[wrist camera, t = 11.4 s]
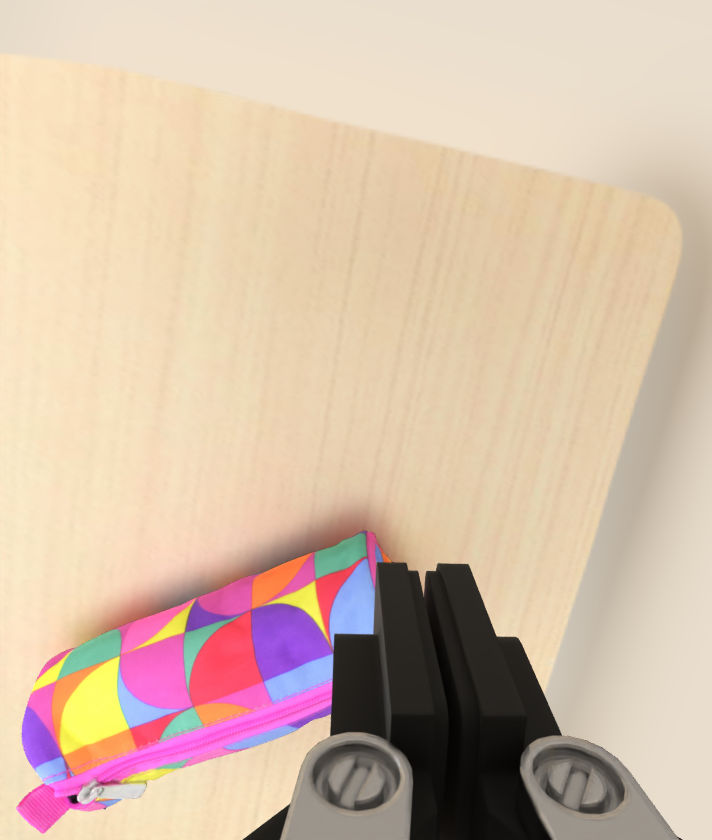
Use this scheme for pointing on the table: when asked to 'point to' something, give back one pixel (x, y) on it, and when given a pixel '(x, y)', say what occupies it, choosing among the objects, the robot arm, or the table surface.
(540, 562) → the table surface
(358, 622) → the pencil case
